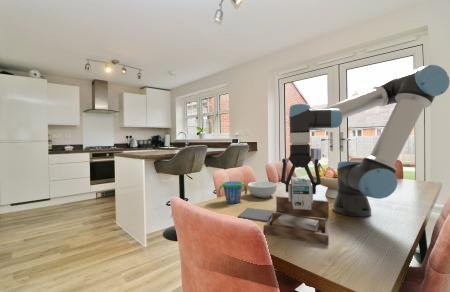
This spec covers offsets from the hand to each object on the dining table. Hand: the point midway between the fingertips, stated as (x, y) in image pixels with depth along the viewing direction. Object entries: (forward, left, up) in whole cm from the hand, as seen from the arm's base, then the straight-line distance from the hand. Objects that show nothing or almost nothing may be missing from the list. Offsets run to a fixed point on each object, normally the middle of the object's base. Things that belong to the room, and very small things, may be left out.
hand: (300, 201), depth 91 cm
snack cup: (+36, -17, -9) cm, 41 cm away
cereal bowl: (+25, -35, -9) cm, 44 cm away
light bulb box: (0, 0, -2) cm, 2 cm away
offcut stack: (0, +11, -9) cm, 14 cm away
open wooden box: (0, +5, -9) cm, 10 cm away
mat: (+19, -2, -9) cm, 21 cm away
